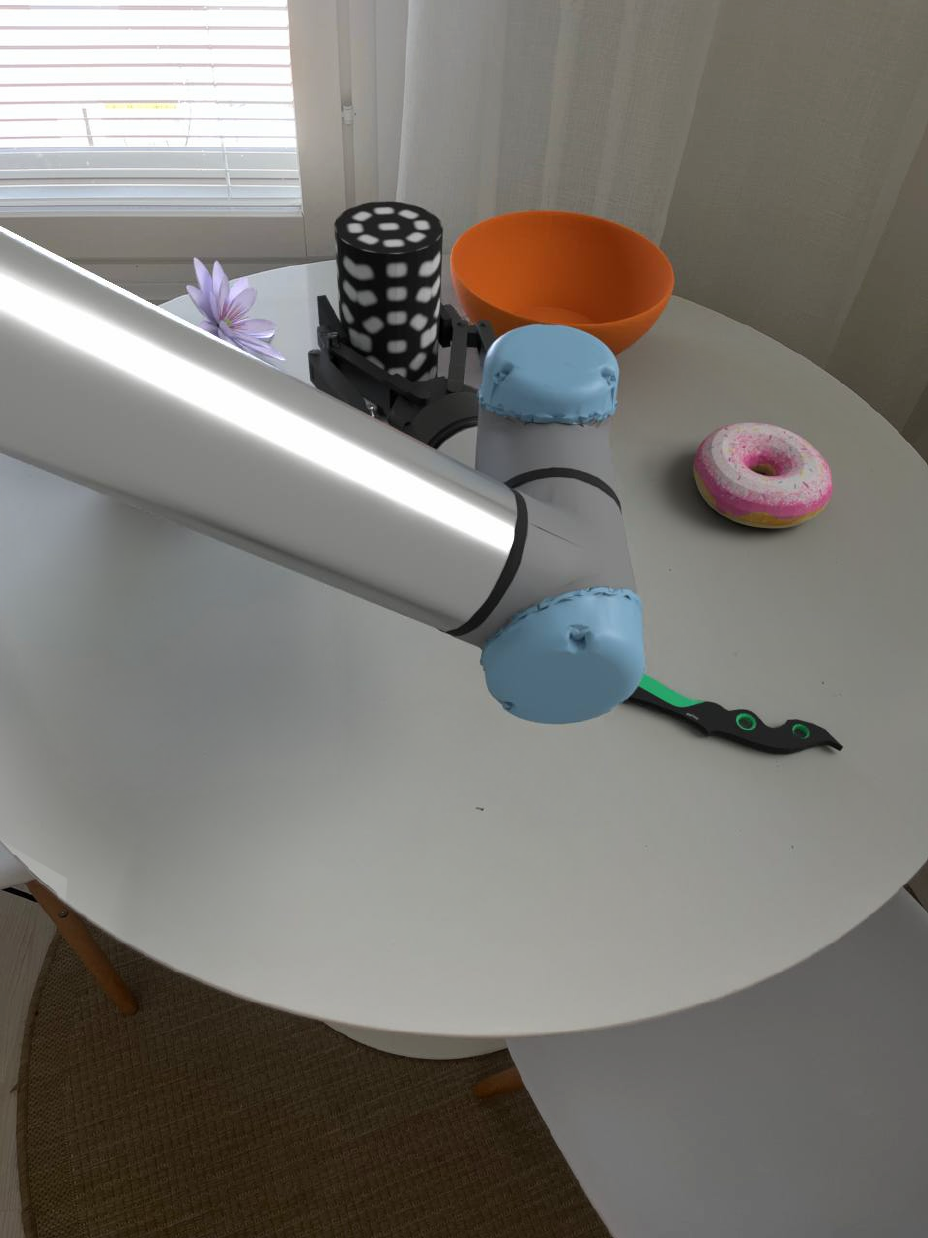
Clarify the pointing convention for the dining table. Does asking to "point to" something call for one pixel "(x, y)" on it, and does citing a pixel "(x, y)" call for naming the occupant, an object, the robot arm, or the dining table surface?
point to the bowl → (561, 275)
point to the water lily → (230, 311)
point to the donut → (768, 500)
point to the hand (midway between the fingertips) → (372, 301)
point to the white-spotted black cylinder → (391, 286)
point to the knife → (731, 721)
